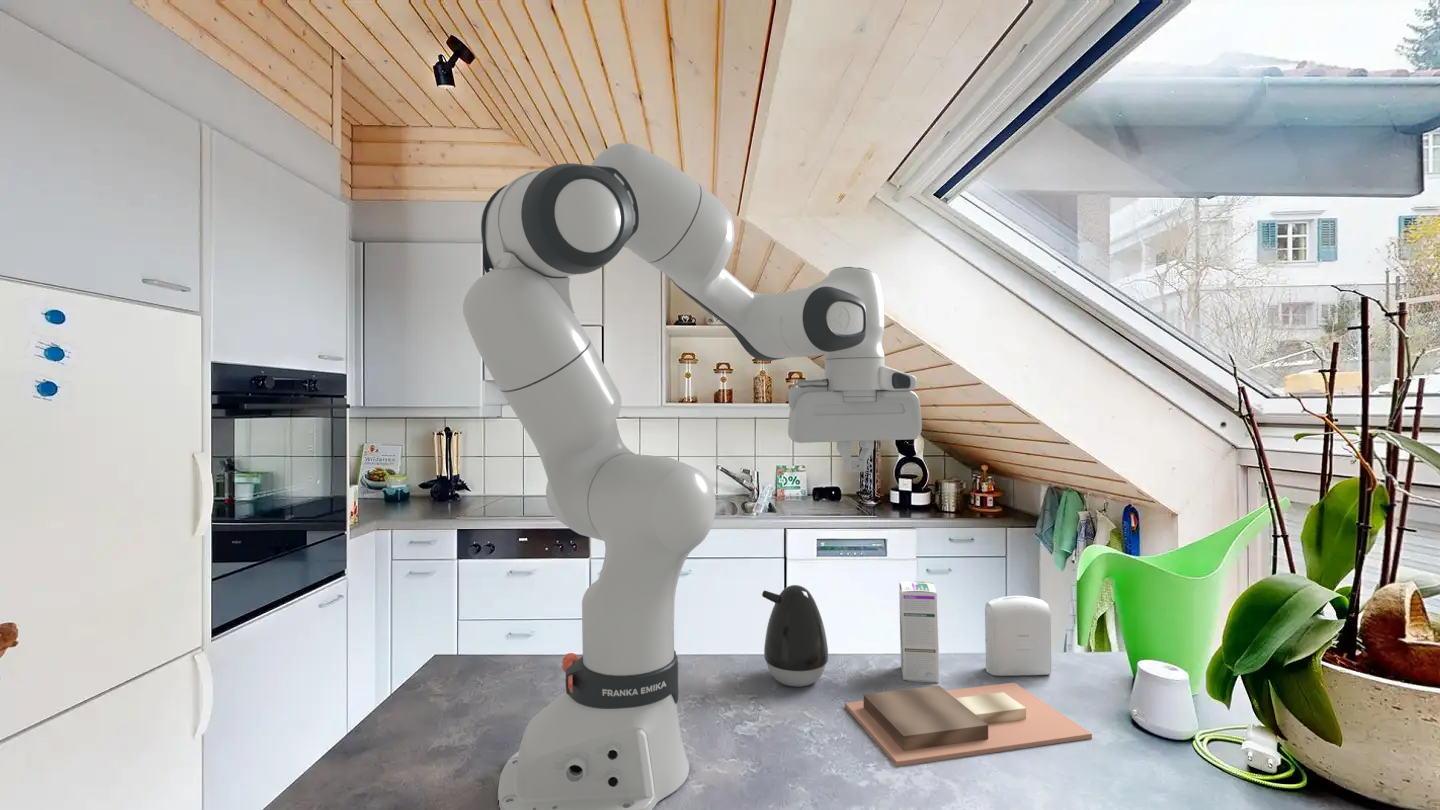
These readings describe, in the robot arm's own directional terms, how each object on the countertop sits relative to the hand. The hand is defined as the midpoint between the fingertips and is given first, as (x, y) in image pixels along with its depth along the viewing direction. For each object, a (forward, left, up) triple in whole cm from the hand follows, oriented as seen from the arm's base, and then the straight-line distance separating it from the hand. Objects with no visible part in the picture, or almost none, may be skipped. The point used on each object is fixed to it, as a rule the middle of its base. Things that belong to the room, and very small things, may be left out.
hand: (855, 471), depth 100 cm
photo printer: (+29, +2, -34) cm, 45 cm away
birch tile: (+15, -10, -34) cm, 38 cm away
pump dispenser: (-7, +8, -34) cm, 36 cm away
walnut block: (+5, -10, -34) cm, 36 cm away
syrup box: (+13, +5, -34) cm, 37 cm away
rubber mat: (+11, -10, -34) cm, 37 cm away
